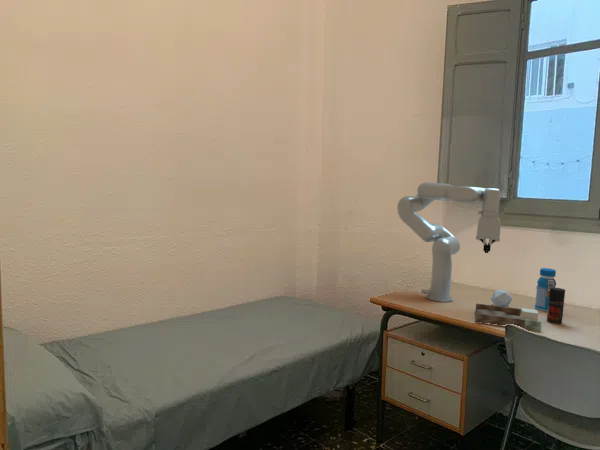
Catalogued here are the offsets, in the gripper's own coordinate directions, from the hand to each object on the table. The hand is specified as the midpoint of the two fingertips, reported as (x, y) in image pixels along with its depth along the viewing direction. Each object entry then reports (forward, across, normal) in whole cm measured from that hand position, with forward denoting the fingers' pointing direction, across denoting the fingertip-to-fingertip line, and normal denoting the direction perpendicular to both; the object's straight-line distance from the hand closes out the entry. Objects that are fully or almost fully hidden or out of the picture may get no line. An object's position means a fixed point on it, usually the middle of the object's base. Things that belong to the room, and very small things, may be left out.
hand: (486, 252), depth 226 cm
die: (+27, +9, +8) cm, 30 cm away
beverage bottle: (+27, +29, +13) cm, 42 cm away
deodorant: (+27, +30, -9) cm, 42 cm away
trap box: (+27, +10, -18) cm, 34 cm away
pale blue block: (+25, +18, -18) cm, 36 cm away
